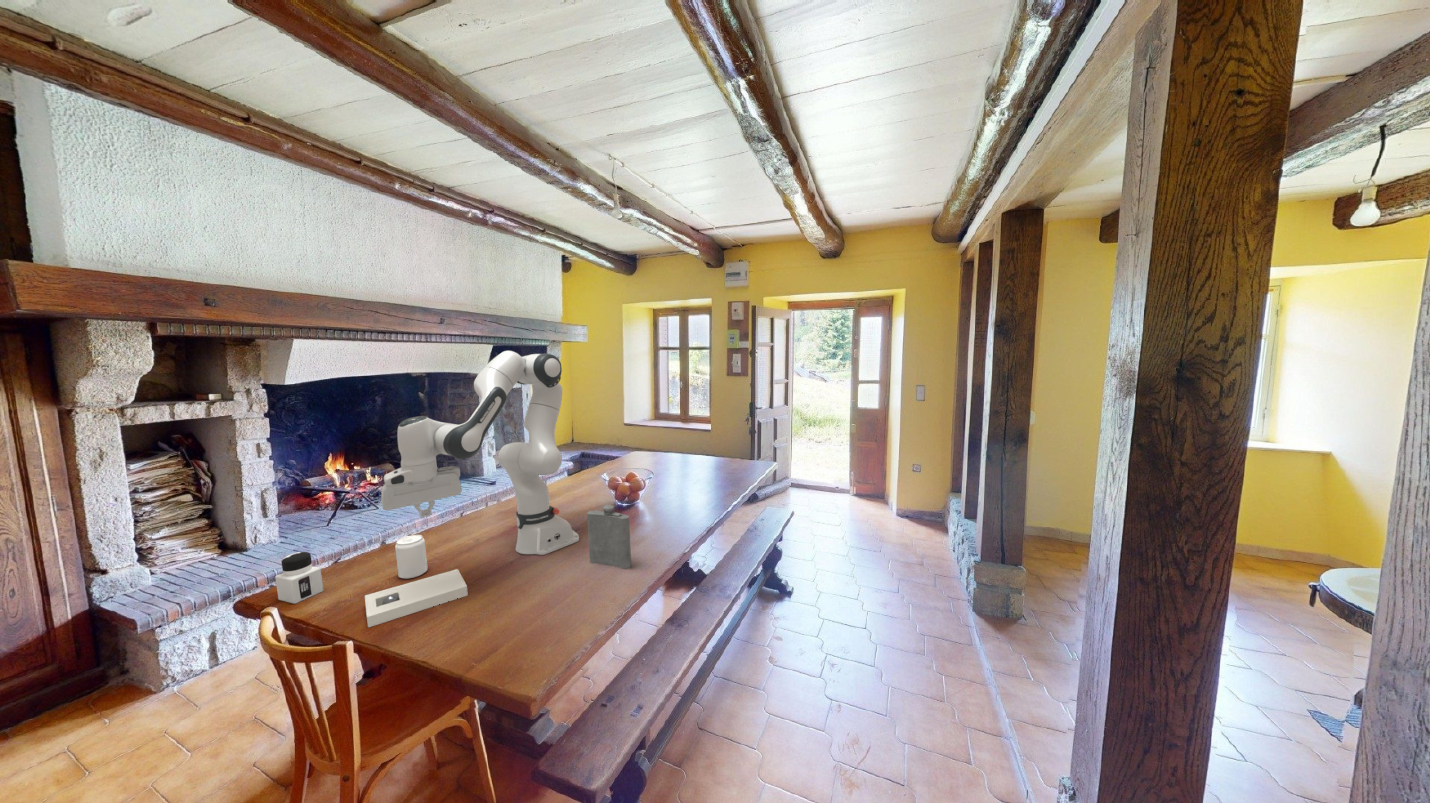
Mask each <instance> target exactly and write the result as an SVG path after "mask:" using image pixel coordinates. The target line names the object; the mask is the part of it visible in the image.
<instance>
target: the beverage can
mask: <svg viewBox="0 0 1430 803" xmlns="http://www.w3.org/2000/svg"><path fill="white" fill-rule="evenodd" d="M394 549H395V558H396V565H397V567H396V568H397V572H398V573H397V574H398V575H397V576H398V578H400V579H414V578H417V577H420V576H421V575H423V574H424V573H426V572H427V571H428V560H427V558H428V557H427V551H426V550H427V549H426V540H425V538H424V537H423V535H422V534H412V535H408V536H404V537H401V538H400V539H398V540H397V541H396V544H395V546H394Z"/></svg>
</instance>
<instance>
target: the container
mask: <svg viewBox="0 0 1430 803" xmlns="http://www.w3.org/2000/svg"><path fill="white" fill-rule="evenodd" d="M281 568H282V573H279V574H277V575H275V577H274V578H275V585H276V591H277V598H278V599H277V600H279V601H282V602H286V603H291V604H294V605H295V604H298V603H301V602H303V601H305V600H307V599H309V598H312V597H314V596H316V595H318V594H320V593H322V592H324V584H323V577H322V570H321V567H318V566H313V563H312V554H311V553H310V552H307V551H298V552H294V553H291V554H289V555H287V556H285V557H283V558H282V559H281Z"/></svg>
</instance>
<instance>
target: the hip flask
mask: <svg viewBox="0 0 1430 803" xmlns="http://www.w3.org/2000/svg"><path fill="white" fill-rule="evenodd" d="M614 510H615V506H614V505H612V504H609V505H605V506H603V507H602V510H589V511H587V512H586V517H587V518H586V520H587V533H588V534H587V538H588V549H589V551H588V552H589V563H591V564H599V565H605V566H612V567H615V568H620V569H622V570H628V569H629V570H630V569H631V568H632V557H631V556H632V553H631V531H630V516H629V515H628V514H623V513H620V512H616V511H614Z"/></svg>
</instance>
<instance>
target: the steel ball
mask: <svg viewBox="0 0 1430 803" xmlns="http://www.w3.org/2000/svg"><path fill="white" fill-rule="evenodd" d="M398 600H399V597H398V596H397V595H394V594H391V595H388V596H386V597H385V598H384V600H383V602H382V605H385V604H388V603H391V602H395V601H398Z"/></svg>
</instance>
